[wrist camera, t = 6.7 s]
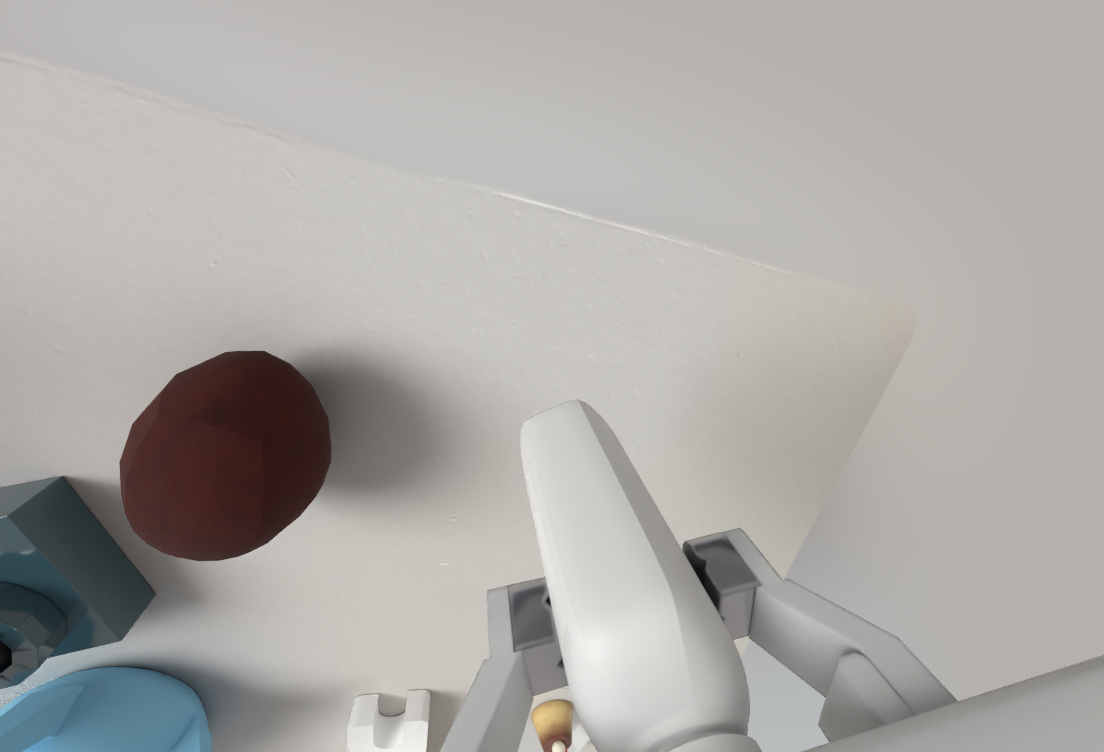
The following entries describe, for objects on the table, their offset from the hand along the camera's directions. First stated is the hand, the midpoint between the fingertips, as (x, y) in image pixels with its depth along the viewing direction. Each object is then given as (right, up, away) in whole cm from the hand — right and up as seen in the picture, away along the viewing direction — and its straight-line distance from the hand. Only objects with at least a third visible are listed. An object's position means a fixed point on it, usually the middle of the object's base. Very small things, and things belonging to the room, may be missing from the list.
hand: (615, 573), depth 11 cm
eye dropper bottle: (-1, +2, +4) cm, 5 cm away
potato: (-19, +3, +16) cm, 25 cm away
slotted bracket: (-18, -31, +32) cm, 48 cm away
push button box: (-36, -7, +17) cm, 40 cm away
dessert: (-2, -31, +36) cm, 47 cm away
